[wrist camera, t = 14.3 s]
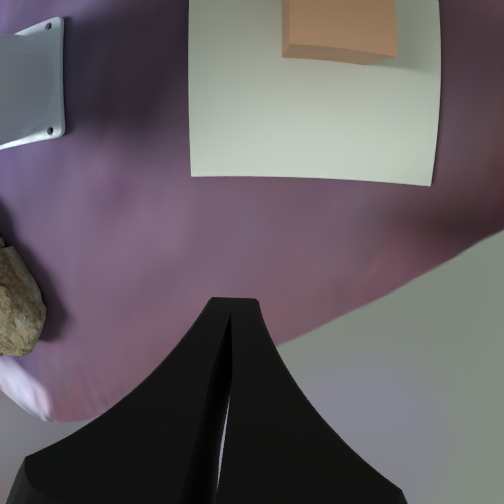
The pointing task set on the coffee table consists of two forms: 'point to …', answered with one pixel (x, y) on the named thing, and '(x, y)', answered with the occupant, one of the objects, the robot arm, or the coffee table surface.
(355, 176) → the grey mat
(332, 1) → the terracotta block
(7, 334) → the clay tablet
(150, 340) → the coffee table surface
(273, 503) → the robot arm
